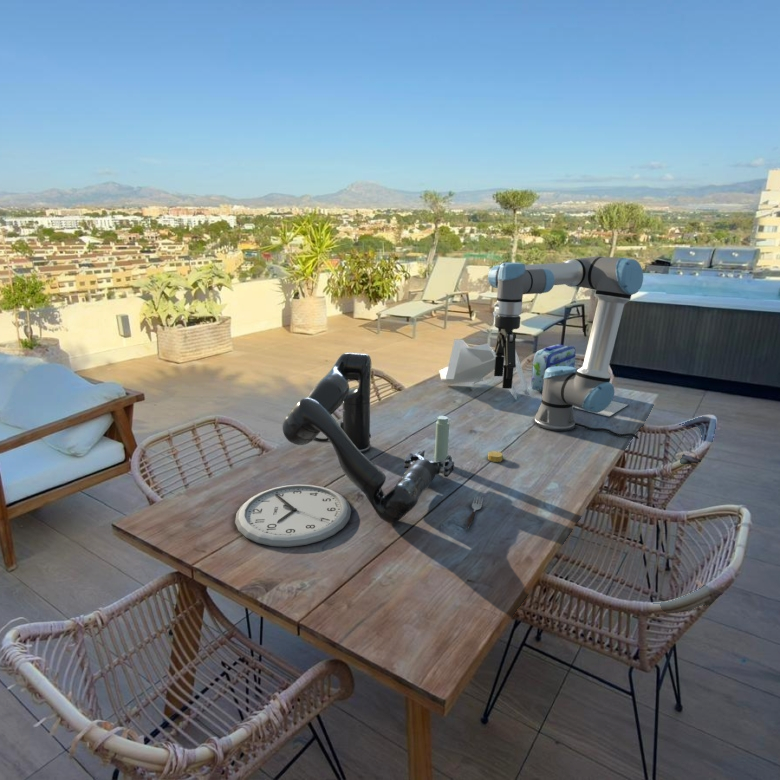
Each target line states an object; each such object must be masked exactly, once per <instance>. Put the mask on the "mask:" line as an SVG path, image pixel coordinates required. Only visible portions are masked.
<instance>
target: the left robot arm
mask: <svg viewBox="0 0 780 780" xmlns="http://www.w3.org/2000/svg"><path fill="white" fill-rule="evenodd" d="M372 365H373V364H372V359H371V356H370V355H369V354H367V353H358V352H357V353H356V352H344V353H342V354H341V355H340V356H339V357H338V358H337V360H336V361H335V363H334V365H333V366H332V367H331V369H330V370H329V371H328V372H327V373H326V374H325V375H324V376H323V377H322V378H321V379H320V380H319V381H318V382H317V383H316V384H315V385H314V387H313V389H312V390H311V391H310V393H309V394H308V395H307V397H303V398H301V399H300V400H299V401H298V402H297V403H296V404H295V405H294V406H293V408H292V409H291V410H290V411H289V413H288V414H287V415H286V416H285V417H284V420H283V423H282V432H283V435H284V437H285V439H286V440H287V441H288V442H290V443H291V444H293V445H297V446H304V445H307V444H310V443H312V441H314V440H316V441H320V442H321V441H322V442H323V441H325V442H326V441H328V440H329V442H330V443H331V445H332V447H333V449H334V452H335V454H336V458H337V460H338V462H339V465H340V467H341V470H342V472H343V473H344V475H345V476H346V477H347V479H348V480H349V481H350V482H351V483H353V484H354V485H355V486H356V487H357V488H358V489H359V490H360V491H361V492H362V493H363V494H364V495H365V497H366V498H367V500H368V502H369V504H371V506H372V508H373V510H374V511H375V513H376V514H377V516H378V517H379V518H380V519H381V520H382V521H384V522H385V523H388V524H396V523H398V522H399V521H400V520H401V519H402V518H404V517H405V516H406V515H407V514H408V513H409V512H410V511H412V509H413V508H414V507H415V506H416V505H417V503H418V501H419V499H420V497H421V495H422V494H423V493H424V492H425V491H427V489H428V488H429V486H431V484H432V482H433V481H434V480H435V478H436V476H437V475H439V474H442V475H443V477H444V478H448V477H449V476H450V475H451V474H452V473H453V472H454V470H455V461H453V456H452V455H451V454H448V456H447V457H446V459H445V460H436V461H434V460H431V459H426V458H424V457H425V450H424V449H421V450H419V451H418V452H417V453H415V454H414V453H411V452H410V453H408V455H407V456H406V457H405V459H404V461H403V468H404V470H405V469H406V470H405V472H404V473H403V475H402V477H401V478H399V480H398V481H397V483H396V484H395V486H394V487H393V488H392V489H391V490H390V491H389V492H388V493H386V494H385V492H384V490H383V489H382V488H383V486H384V484H385V482H386V480H387V476H386V475H385V474H384V472H383V471H382V470H380V469H379V468H378V466H376V465H375V464H374V462H372V461H371V460H370V459H369V458H368V457H367V456H366V455H365V454H364V453H365V452H367V451H369V450H370V448H371V438H372V437H371V436H372V435H371V390H372V389H371V386H372V385H371V382H372V380H371V379H372V369H373V368H372V367H373V366H372ZM349 382H356V383H357V382H358V385H357V386H356V387H352V388H350V384H349ZM341 405H342V421H340V423H338V422H337V421H336V419H335V418H334V417H333V415H332V414H334V413H335V412H336V411H337V410H338V409H339V408H340V407H341ZM320 433H322V434H323V436H325V437H326V438H321V437H317V436H318V435H319V434H320ZM444 463H445V466H443V464H444ZM438 464H439V465H438Z"/></svg>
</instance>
